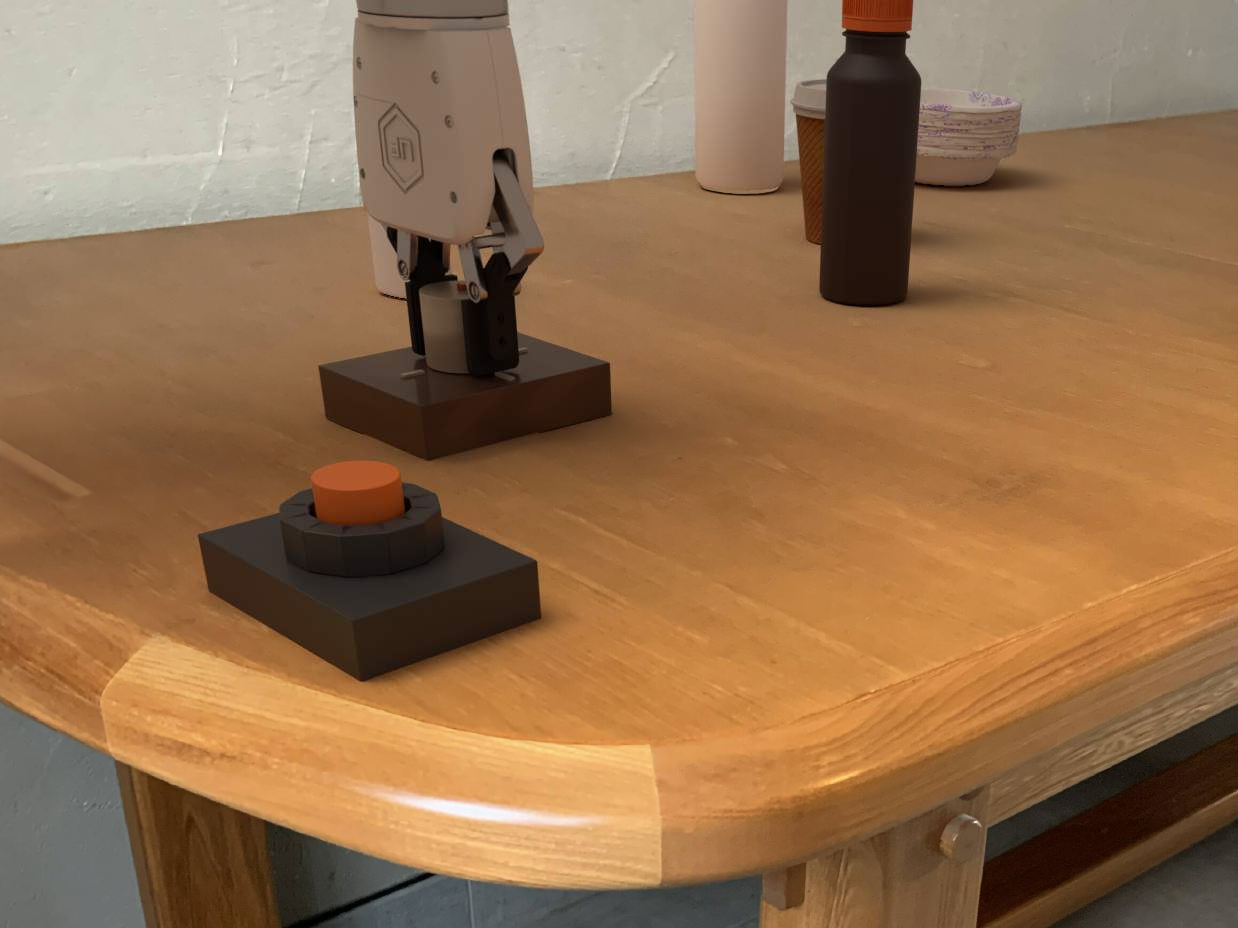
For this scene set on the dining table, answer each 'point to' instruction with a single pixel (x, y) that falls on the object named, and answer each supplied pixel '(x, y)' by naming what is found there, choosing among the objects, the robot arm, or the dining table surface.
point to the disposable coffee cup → (811, 150)
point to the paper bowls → (964, 135)
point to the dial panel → (464, 398)
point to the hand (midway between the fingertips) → (465, 357)
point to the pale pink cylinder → (740, 93)
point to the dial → (444, 325)
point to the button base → (371, 582)
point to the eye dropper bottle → (386, 262)
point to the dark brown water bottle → (870, 157)
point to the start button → (357, 493)
